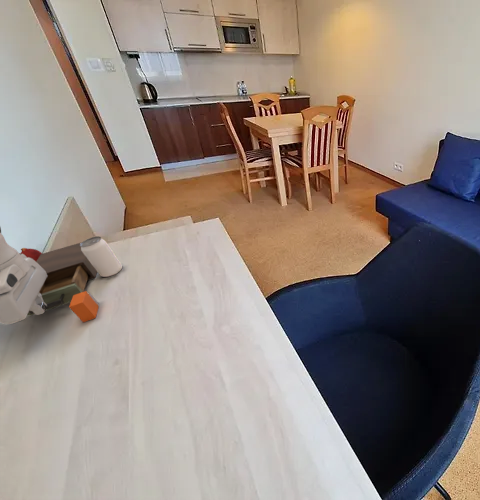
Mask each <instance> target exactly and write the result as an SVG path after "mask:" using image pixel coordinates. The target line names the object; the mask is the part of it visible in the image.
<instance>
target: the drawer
mask: <svg viewBox="0 0 480 500" xmlns="http://www.w3.org/2000/svg"><path fill="white" fill-rule="evenodd" d="M88 276H89V274H88V272H87V271H86V270H85V269H84V267H83V266H82V265H79V266H76V267H73V268H69V269H66V270H63V271H60V272H56V273H53V274H50V275H47V278H46V280H45V282H44V284H43V286H42V287H41V289H40V291H39V292H40V294H41V295H42V298H43V301H44V302H45V303H46V304H47V307H46V309H45V311H48V310H52V309H54V308H57V307H60V306H63V305H66V304H70V303H71V300H72V297H73V295H76V294H79V293H82V292H85V288H86V285H87V282H88V280H87V279H88ZM34 315H36V314H35V313H34V312H33V311H30V310H29V312H28V314H27V316H28V317H30V316H34Z"/></svg>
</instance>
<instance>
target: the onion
mask: <svg viewBox="0 0 480 500" xmlns="http://www.w3.org/2000/svg"><path fill="white" fill-rule="evenodd" d="M20 253H21V254H24V255H25V256H26V257H27V258H28V257H29V258H32V259H33V260H34V261H37V260H38V258H39V256H40V255H41V254H43V253H42V252H41V251H40V250H38V249H35V248H26V247H22V248H20Z"/></svg>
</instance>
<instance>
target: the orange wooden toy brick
mask: <svg viewBox="0 0 480 500" xmlns="http://www.w3.org/2000/svg"><path fill="white" fill-rule="evenodd" d="M99 304H100V302H98V300H97V299H96V298H95V297H94V295H93V294H92V293H91V292H90V293H89V292H88V291H87V290H84V291H83V292H82V293H79V294H76V295H73V297H72V300H71V302H69V306H68V308H69V309H70V310H71V312H73V313H74V314H75V315H76V317H77V318H78V319H79V320H80V321H81V322H82V323H85V322H89V321H91V320H93V319H96V318H97V314H98V310H99Z"/></svg>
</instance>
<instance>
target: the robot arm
mask: <svg viewBox="0 0 480 500" xmlns="http://www.w3.org/2000/svg"><path fill="white" fill-rule="evenodd" d="M46 278H47V273H46V271H45V270H44V269H43V268H42V267H41V266H40V265H39V264H38V263H37V262H36V261H34V260H33V259H32V258H29V257H28V258H27V257H26V256H25V255H24V254H21V252H19V251H17V249H15V248H14V247H13V246H11V245H9V243H7V241H6V239H5V236H4V235H3V234H2V228H1V226H0V323H1V324H3V325H12V324H15V323H18V322H20V321H23V320H25V319H26V318H27V316H28V315H27V314H28V312H29V310H30V311H33V312H34V313H35V314H34V315H36V316H40V315H42V314H44V313H45V311H46V310H45V309H46V307H47V304H46V303H45V302H44V301H43V298H42V295H41V294H40V292H39V291H40V289H41V287H42V286H43V284H44V282H45V280H46Z"/></svg>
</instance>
